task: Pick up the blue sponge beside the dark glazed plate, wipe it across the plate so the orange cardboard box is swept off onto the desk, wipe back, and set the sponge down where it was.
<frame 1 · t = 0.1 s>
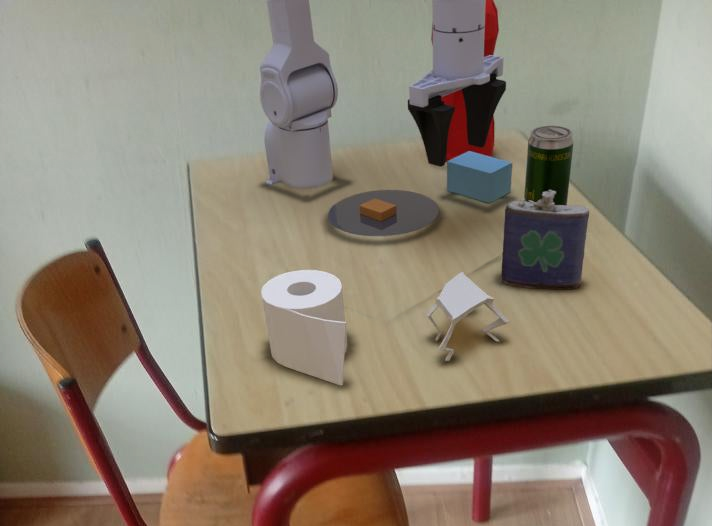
hand: (456, 154, 97), 10 cm above the table, tool pointing down, fingers open, 7 cm apart
orange cardboard box: (378, 214, 108), point 1 cm above the table, touching plate
toilet paper: (312, 359, 84), on the table
beer can: (542, 231, 104), on the table
plate: (383, 218, 109), on the table
sponge: (478, 198, 112), on the table
origami figure: (464, 333, 87), on the table
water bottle: (462, 161, 123), on the table
flask: (539, 284, 94), on the table
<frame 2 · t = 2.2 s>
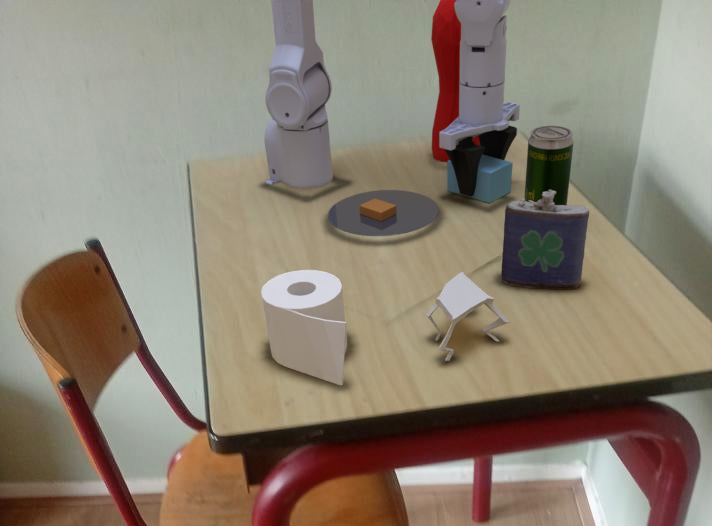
hand: (478, 188, 111), 1 cm above the table, tool pointing down, fingers closed on sponge, 5 cm apart
sponge: (478, 198, 112), on the table, touching gripper
everything else where it was.
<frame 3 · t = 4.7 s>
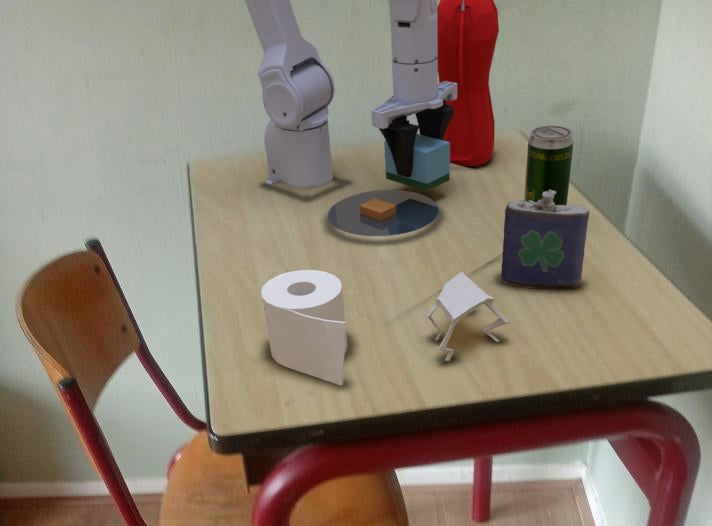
hand: (417, 169, 109), 5 cm above the table, tool pointing down, fingers closed on sponge, 5 cm apart
sponge: (417, 179, 110), point 3 cm above the table, touching gripper
everything else where it was.
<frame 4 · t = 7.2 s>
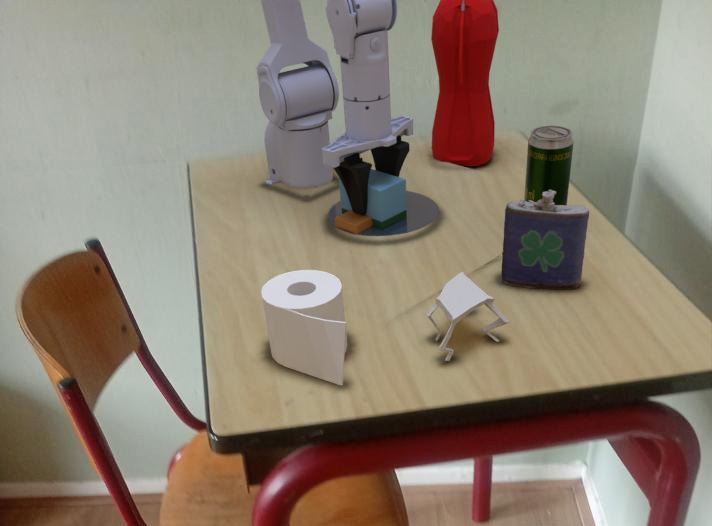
hand: (373, 205, 106), 2 cm above the table, tool pointing down, fingers closed on sponge, 5 cm apart
orange cardboard box: (354, 226, 105), point 1 cm above the table, touching plate, sponge
sponge: (374, 216, 107), point 1 cm above the table, touching orange cardboard box, gripper
everything else where it was.
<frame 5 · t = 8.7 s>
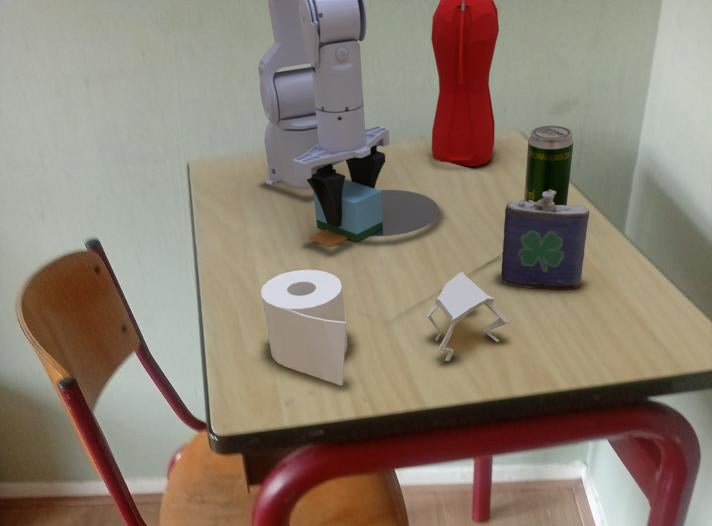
hand: (348, 217, 104), 2 cm above the table, tool pointing down, fingers closed on sponge, 5 cm apart
orange cardboard box: (329, 246, 104), on the table, touching sponge
sponge: (349, 228, 105), point 1 cm above the table, touching orange cardboard box, gripper, plate
everything else where it was.
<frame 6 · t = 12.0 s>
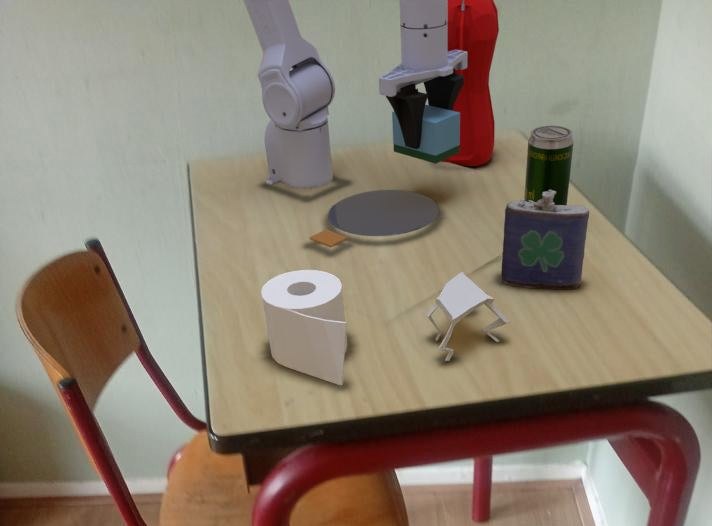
hand: (425, 141, 106), 8 cm above the table, tool pointing down, fingers closed on sponge, 5 cm apart
orange cardboard box: (329, 246, 104), on the table
sponge: (426, 152, 107), point 7 cm above the table, touching gripper
everything else where it was.
when the fingers open (1 cm above the table, at t = 14.8 s): sponge stays where it is, on the table.
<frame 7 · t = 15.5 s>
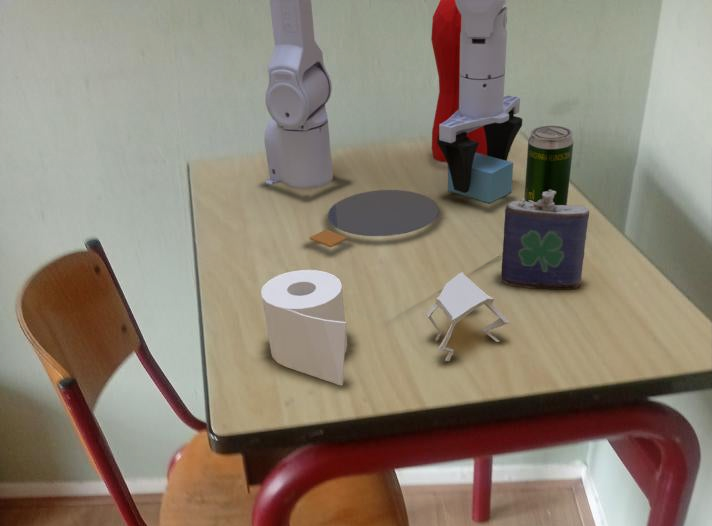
hand: (478, 181, 111), 2 cm above the table, tool pointing down, fingers open, 7 cm apart
sponge: (479, 198, 112), on the table
everything else where it was.
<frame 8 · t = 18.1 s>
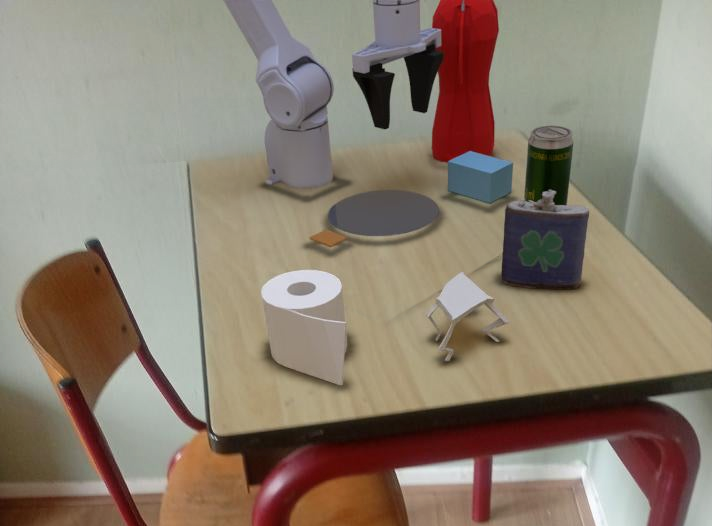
hand: (401, 119, 107), 10 cm above the table, tool pointing down, fingers open, 7 cm apart
nothing on the table moved.
at the end: orange cardboard box inside the target area (3.6 cm from its centre), on the table; sponge inside the target area (0.1 cm from its centre), on the table; the gripper is holding nothing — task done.
